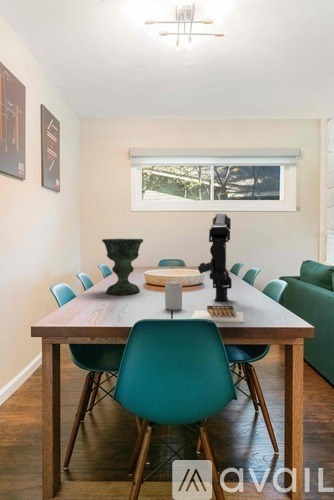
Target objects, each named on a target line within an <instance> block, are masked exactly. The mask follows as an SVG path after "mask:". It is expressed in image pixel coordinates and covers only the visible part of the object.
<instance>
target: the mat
mask: <svg viewBox="0 0 334 500" xmlns="http://www.w3.org/2000/svg"><path fill="white" fill-rule="evenodd" d="M235 313H236V317H235V316H233V315H232V316H231V317H230V316H229V315H228V314H227V316H224V315H223V316H222V317H221V316H220V315H219V314H218V316H216V315H215V314H214V316H211V315H210V313H209V312H208V310H199V309H198V310H197V309H195V310H194V312H193V314H192V316H191V318H203V319H209V320H212V321H211V322H217V323H218V322H220V323H234V324H235V323H237V324H238V323H239V324H244V323H245V317H244V312H241V311H235ZM222 314H223V313H222ZM191 318H190V319H191Z"/></svg>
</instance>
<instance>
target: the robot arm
mask: <svg viewBox="0 0 334 500" xmlns="http://www.w3.org/2000/svg"><path fill="white" fill-rule="evenodd" d="M227 215H228V214H226V213H216V214H215V216H214V217H213V219H212V224H211V225H210V226H211V227H210V228H209V233H208V234H209V235H208V242H209V243H212V245H211V246H210V249H209V252H210V254H211V258H210V262H206V263H205V262H201V263H200V264H199V265H198V266H197V269H198V272H199V274H200V275H202V274H204V273H206V272H209V271H210V273H209V279H210V280H212V289H215V297H214V301H215V302H229V297H228V290H229V289H232V278H231V276H230V272H229V270H228V269H227V243H229V241H230V240H231V223H232V222H231V221H232V220H231V218H230V217H229V216H227Z"/></svg>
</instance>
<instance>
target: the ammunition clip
mask: <svg viewBox="0 0 334 500" xmlns="http://www.w3.org/2000/svg"><path fill="white" fill-rule="evenodd" d="M206 311H208V312H209V313H210V315H211V316H214V314H215V315H216V316H218V314H219V315H220V316H221V317H222V316H223V315H224V316H227V314H228V315H229V316H230V317H231V316H232V315H233V316H235V317H236V313H235V312H236V311H235V308H234V306H233V305H207V307H206ZM222 313H223V314H222Z"/></svg>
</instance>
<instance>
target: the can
mask: <svg viewBox="0 0 334 500" xmlns="http://www.w3.org/2000/svg"><path fill="white" fill-rule="evenodd" d="M164 289H165V290H164V305H165V306H164V308H166V310H168V311H180V310H181V309H183V285H182V284H181V281H173V280H171V281H167V282H166V284H165V285H164Z"/></svg>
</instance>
